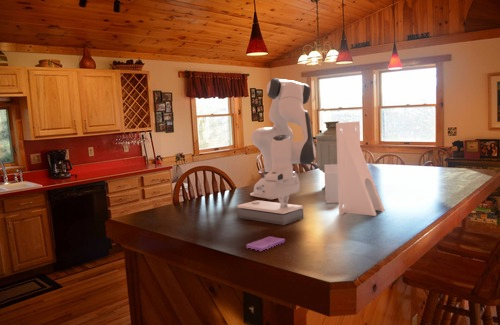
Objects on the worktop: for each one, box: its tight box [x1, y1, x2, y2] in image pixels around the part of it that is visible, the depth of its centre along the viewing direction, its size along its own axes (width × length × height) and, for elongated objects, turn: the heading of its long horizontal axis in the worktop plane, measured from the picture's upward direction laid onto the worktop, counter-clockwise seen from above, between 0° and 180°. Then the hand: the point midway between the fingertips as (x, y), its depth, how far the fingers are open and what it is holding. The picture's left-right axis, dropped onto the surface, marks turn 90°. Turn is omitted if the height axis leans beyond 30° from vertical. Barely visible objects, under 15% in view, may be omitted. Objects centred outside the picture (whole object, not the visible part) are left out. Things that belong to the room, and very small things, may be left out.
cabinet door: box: [236, 200, 304, 214], centre depth 177 cm, size 26×14×2 cm, turn 48°
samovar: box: [313, 120, 341, 191], centre depth 239 cm, size 30×26×40 cm
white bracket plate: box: [336, 121, 386, 217], centre depth 177 cm, size 20×14×40 cm
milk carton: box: [324, 164, 339, 204], centre depth 203 cm, size 7×7×19 cm
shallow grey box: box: [236, 207, 304, 226], centre depth 177 cm, size 26×14×4 cm, turn 48°
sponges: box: [246, 235, 286, 252], centre depth 138 cm, size 7×13×2 cm, turn 137°
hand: (284, 205), depth 171 cm, fingers closed, pressing on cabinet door
